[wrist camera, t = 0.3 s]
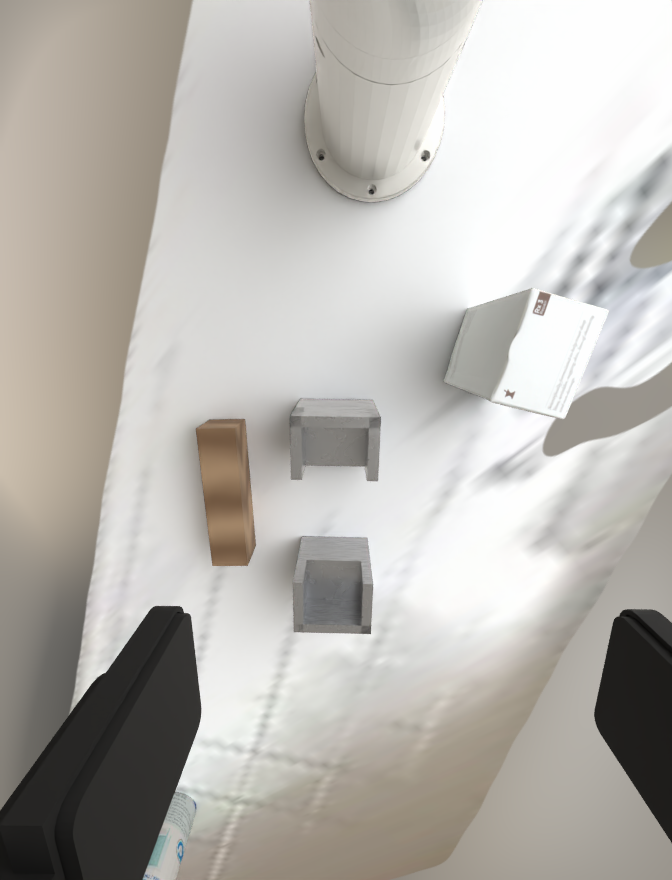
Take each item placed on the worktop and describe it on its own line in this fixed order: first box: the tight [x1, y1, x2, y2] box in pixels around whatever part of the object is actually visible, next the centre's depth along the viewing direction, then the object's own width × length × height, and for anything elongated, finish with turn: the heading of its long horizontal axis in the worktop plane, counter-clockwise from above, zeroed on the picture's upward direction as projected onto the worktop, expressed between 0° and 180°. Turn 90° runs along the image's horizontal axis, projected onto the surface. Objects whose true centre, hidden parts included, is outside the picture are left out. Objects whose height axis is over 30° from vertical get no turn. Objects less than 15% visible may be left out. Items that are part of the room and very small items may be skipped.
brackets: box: [290, 399, 381, 634], centre depth 42 cm, size 23×8×9 cm, turn 179°
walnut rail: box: [196, 419, 256, 566], centre depth 44 cm, size 16×4×4 cm, turn 1°
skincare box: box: [444, 288, 609, 419], centre depth 34 cm, size 8×6×15 cm
